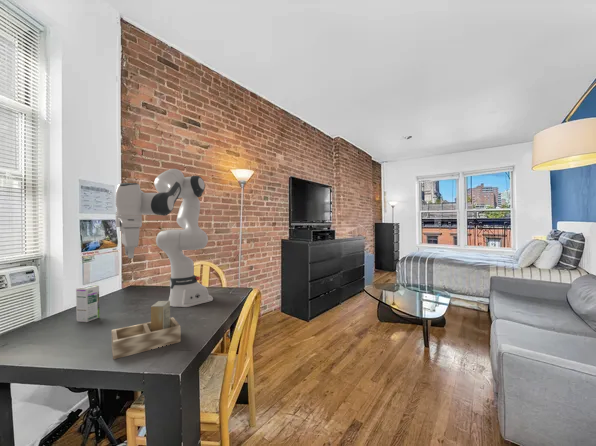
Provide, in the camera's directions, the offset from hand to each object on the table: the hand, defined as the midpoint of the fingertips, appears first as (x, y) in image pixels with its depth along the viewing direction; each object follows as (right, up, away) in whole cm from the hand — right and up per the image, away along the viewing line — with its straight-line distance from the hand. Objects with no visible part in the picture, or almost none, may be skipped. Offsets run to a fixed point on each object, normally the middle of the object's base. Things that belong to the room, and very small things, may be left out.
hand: (129, 256), depth 104 cm
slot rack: (+15, -29, -14) cm, 36 cm away
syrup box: (-24, -29, +9) cm, 39 cm away
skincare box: (+19, -28, -12) cm, 35 cm away
